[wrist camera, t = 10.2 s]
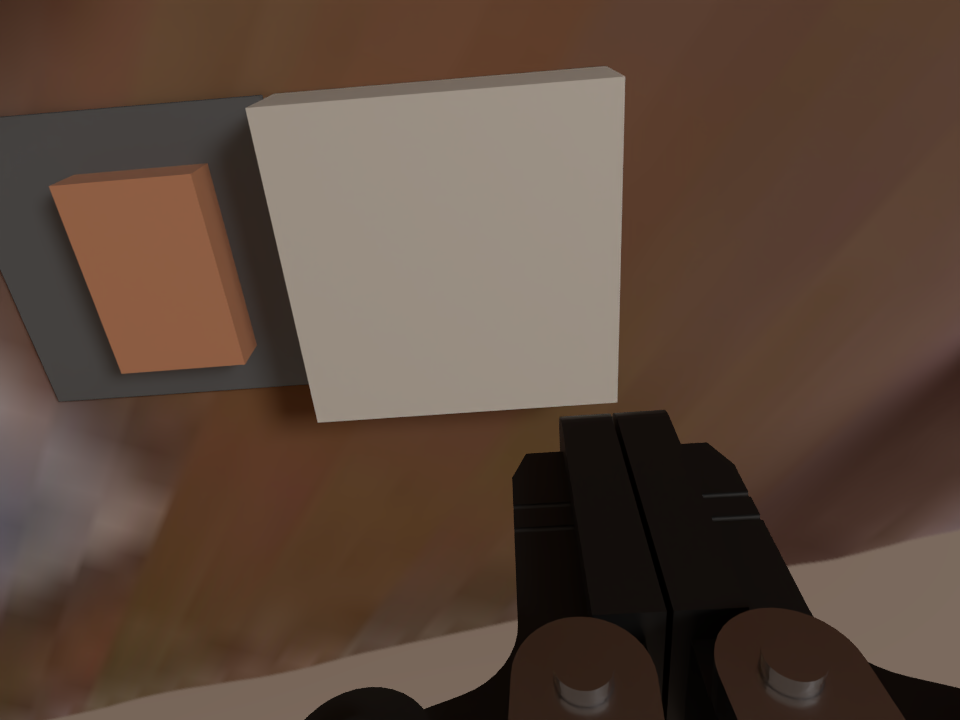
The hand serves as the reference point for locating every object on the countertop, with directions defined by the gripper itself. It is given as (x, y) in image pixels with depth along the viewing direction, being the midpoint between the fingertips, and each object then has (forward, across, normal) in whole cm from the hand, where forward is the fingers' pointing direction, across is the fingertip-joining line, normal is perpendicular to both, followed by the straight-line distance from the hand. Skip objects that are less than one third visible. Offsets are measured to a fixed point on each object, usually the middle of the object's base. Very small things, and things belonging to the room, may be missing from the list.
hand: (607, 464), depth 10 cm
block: (+20, +17, +4) cm, 26 cm away
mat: (+22, +18, +3) cm, 29 cm away
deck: (+22, +4, +4) cm, 23 cm away
